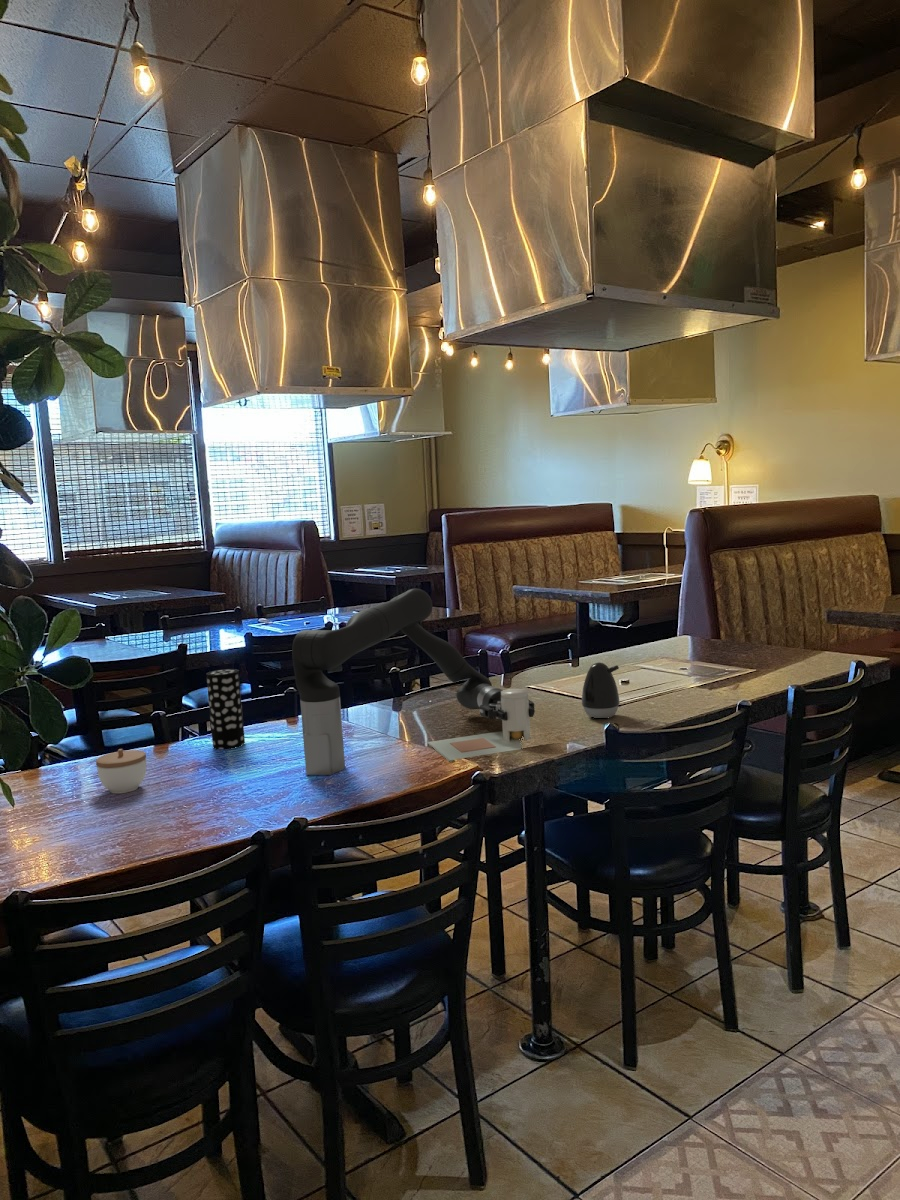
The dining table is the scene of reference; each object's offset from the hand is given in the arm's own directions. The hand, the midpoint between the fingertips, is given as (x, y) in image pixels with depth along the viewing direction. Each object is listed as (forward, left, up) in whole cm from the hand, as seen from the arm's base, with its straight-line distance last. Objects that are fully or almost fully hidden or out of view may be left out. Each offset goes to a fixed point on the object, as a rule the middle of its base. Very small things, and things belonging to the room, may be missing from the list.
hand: (519, 714), depth 218 cm
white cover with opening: (+2, +1, -7) cm, 7 cm away
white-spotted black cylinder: (-3, +78, -7) cm, 79 cm away
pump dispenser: (+26, -19, -7) cm, 33 cm away
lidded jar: (-39, +86, -7) cm, 95 cm away
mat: (-1, +6, -7) cm, 10 cm away
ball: (+2, +1, -5) cm, 6 cm away
